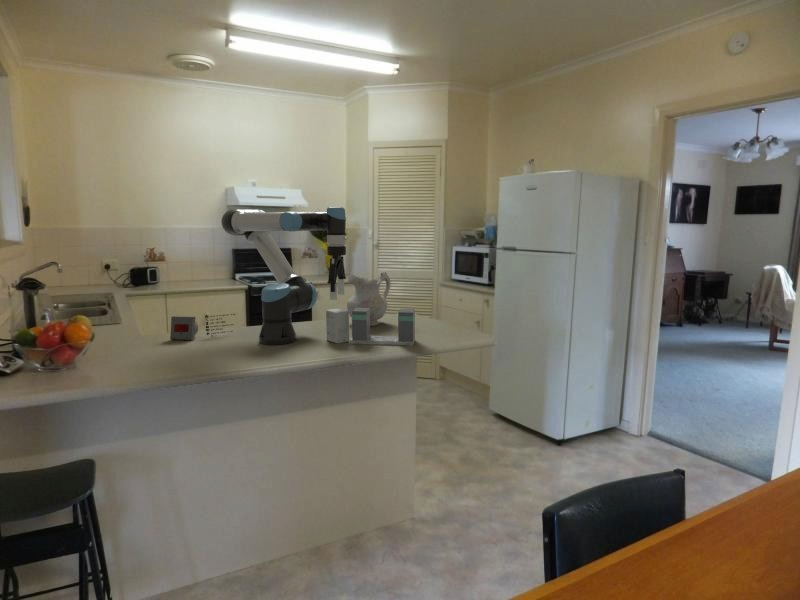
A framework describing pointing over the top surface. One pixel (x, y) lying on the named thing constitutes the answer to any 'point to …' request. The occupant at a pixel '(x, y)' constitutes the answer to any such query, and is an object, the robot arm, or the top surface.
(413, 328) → the block
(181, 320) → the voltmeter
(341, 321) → the small box
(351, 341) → the rail plate
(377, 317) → the ceramic pitcher
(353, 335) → the block
